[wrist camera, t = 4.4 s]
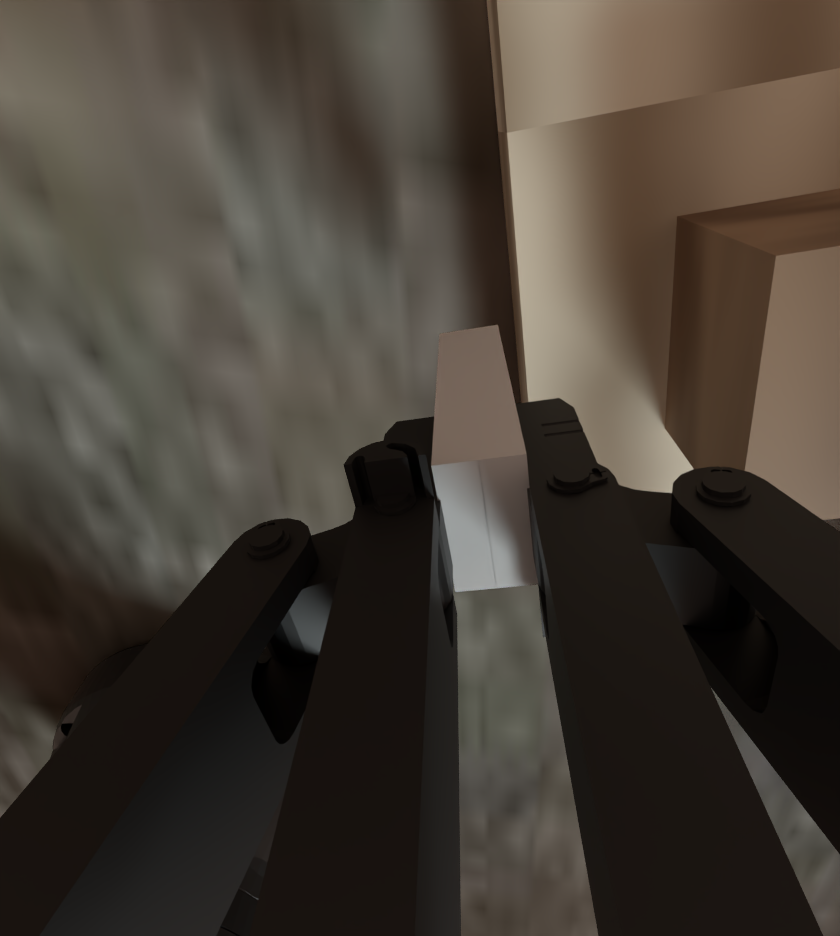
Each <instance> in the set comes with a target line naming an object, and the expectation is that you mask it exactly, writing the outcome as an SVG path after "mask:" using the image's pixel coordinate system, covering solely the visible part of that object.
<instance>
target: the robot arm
mask: <svg viewBox="0 0 840 936" xmlns="http://www.w3.org/2000/svg"><path fill="white" fill-rule="evenodd" d="M344 468H345V472H346V475H347V479H348V482H349V486H350V489H351V493H352V496H353V500H354V503H355V507H356V508H355V512H354V516H353V520H351V521H349V522H347V523H346V524H344V525H341V526H339V527H336V528H334V529H331V530H328V531H324V532H321V533H318V534H315V535H312V536H311V534H310V531H309V528H308V526H307V525H305V524H304V523H303V522H301V521H299V520H294V519H289V518H287V519H276V520H271V521H267V522H264V523H261V524H258V525H257V526H255V527H253V528H252V529H250V530H248V531H246V532H245V533H243V534H242V535H241V536H240V537H239V538H238V539H237V540H236V541H234V543H233V544H232V545H231V546H230V547H229V548H228V550H227V551H226V552H225V553H224V554H223V555H222V557H221V558H220V559H219V560H218V561H217V563H216V564H215V565H214V566H213V567H212V568H211V570H210V571H209V572H208V573H207V574H206V576H205V577H204V578H203V579H202V580H201V581H200V583H199V584H198V585H197V586H196V587H195V589H194V590H193V591H192V592H191V593H190V594H189V596H188V597H187V598H186V599H185V600H184V602H183V603H182V604H181V605H180V606H179V607H178V609H177V610H176V611H175V612H174V613H173V615H172V616H171V617H170V618H169V619H168V620H167V622H166V623H165V624H164V625H163V626H162V628H161V629H160V630H159V631H158V632H157V633H156V635H155V636H154V637H153V638H152V639H151V640H150V642H149V643H148V644H145V645H141V646H137V647H133V648H130V649H127V650H124V651H121V652H119V653H117V654H115V655H113V656H111V657H109V658H107V659H106V660H104V661H102V662H101V663H100V664H99V665H97V666H96V667H95V668H94V669H93V670H92V671H91V672H90V673H89V675H88V676H87V677H86V679H85V680H84V682H83V683H82V685H81V686H80V688H79V689H78V691H77V692H76V694H75V695H74V697H73V698H72V700H71V701H70V703H69V705H68V706H67V708H66V709H65V711H64V713H63V714H62V717H61V719H60V721H59V723H58V726H57V729H56V733H55V736H54V740H53V752H52V755H51V758H50V760H49V761H48V762H47V763H46V764H45V766H44V767H43V768H42V769H41V770H40V772H39V773H38V774H37V775H36V776H35V777H34V779H33V780H32V781H31V782H30V783H29V785H28V786H27V787H26V788H25V789H24V790H23V792H22V793H21V794H20V795H19V796H18V797H17V799H16V800H15V801H14V802H13V803H12V805H11V806H10V807H9V808H8V809H7V810H6V812H5V813H4V814H3V815H2V816H1V818H0V936H461V909H460V826H459V743H458V661H457V611H456V606H455V601H454V596H453V582H454V587H455V592H461V591H472V590H483V589H493V588H504V587H515V586H525V585H536V584H538V586H539V597H540V609H541V620H542V631H543V637H546V641H547V647H548V652H549V658H550V664H551V669H552V675H553V681H554V686H555V692H556V698H557V703H558V709H559V715H560V720H561V726H562V732H563V737H564V743H565V748H566V754H567V760H568V765H569V771H570V777H571V782H572V788H573V794H574V799H575V805H576V811H577V816H578V822H579V828H580V833H581V839H582V845H583V850H584V856H585V862H586V867H587V873H588V878H589V884H590V890H591V895H592V901H593V907H594V912H595V918H596V924H597V929H598V935H599V936H823V934H822V932H821V930H820V928H819V925H818V923H817V921H816V919H815V917H814V914H813V912H812V910H811V908H810V906H809V903H808V901H807V899H806V897H805V895H804V892H803V890H802V888H801V886H800V884H799V881H798V879H797V877H796V875H795V872H794V870H793V868H792V866H791V864H790V861H789V859H788V857H787V855H786V853H785V850H784V848H783V846H782V844H781V842H780V839H779V837H778V835H777V833H776V831H775V828H774V826H773V824H772V822H771V820H770V817H769V815H768V813H767V811H766V808H765V806H764V804H763V802H762V800H761V797H760V795H759V793H758V791H757V789H756V786H755V784H754V782H753V780H752V778H751V775H750V773H749V771H748V769H747V767H746V764H745V762H744V760H743V758H742V756H741V753H740V751H739V749H738V747H737V744H736V742H735V740H734V738H733V736H732V733H731V731H730V729H729V727H728V725H727V722H726V720H725V718H724V716H723V714H722V711H721V709H720V707H719V705H718V703H717V700H716V698H715V696H714V694H713V692H712V689H713V690H714V692H715V693H716V694H717V696H718V697H719V698H720V699H721V701H722V702H723V703H724V705H725V706H726V707H727V709H728V710H729V711H730V712H731V714H732V715H733V716H734V718H735V719H736V720H737V721H738V723H739V724H740V725H741V727H742V728H743V729H744V731H745V732H746V733H747V734H748V736H749V737H750V738H751V740H752V741H753V742H754V744H755V745H756V746H757V747H758V749H759V750H760V751H761V753H762V754H763V755H764V757H765V758H766V759H767V760H768V762H769V763H770V764H771V766H772V767H773V768H774V769H775V771H776V772H777V773H778V775H779V776H780V777H781V779H782V780H783V781H784V782H785V784H786V785H787V786H788V788H789V789H790V790H791V792H792V793H793V794H794V795H795V797H796V798H797V799H798V801H799V802H800V803H801V804H802V806H803V807H804V808H805V810H806V811H807V812H808V814H809V815H810V816H811V817H812V819H813V820H814V821H815V823H816V824H817V825H818V827H819V828H820V829H821V830H822V832H823V833H824V834H825V836H826V837H827V838H828V840H829V841H830V842H831V843H832V845H833V846H834V847H835V849H836V850H837V851H838V852H839V854H840V532H839V531H838V530H836V529H835V528H833V527H832V526H830V525H829V524H828V523H826V522H825V521H823V520H822V519H820V518H819V517H818V516H816V515H815V514H813V513H812V512H810V511H809V510H808V509H806V508H805V507H803V506H802V505H800V504H799V503H798V502H796V501H795V500H793V499H792V498H790V497H789V496H788V495H786V494H785V493H783V492H782V491H780V490H779V489H778V488H776V487H775V486H773V485H772V484H770V483H769V482H768V481H766V480H765V479H763V478H761V477H759V476H757V475H755V474H753V473H751V472H747V471H743V470H739V469H735V468H731V467H720V466H717V467H705V468H698V469H693V470H691V471H688V472H686V473H683V474H681V475H680V476H679V477H678V478H677V479H676V480H675V481H674V482H673V488H672V493H665V492H652V491H643V490H636V489H631V488H628V487H624V486H621V485H619V484H618V482H617V480H616V477H615V476H614V475H613V473H612V472H611V471H610V470H609V469H608V468H606V467H604V466H602V465H600V464H598V463H597V461H596V458H595V456H594V454H593V451H592V449H591V447H590V444H589V442H588V440H587V437H586V435H585V433H584V432H583V428H582V425H581V423H580V422H579V418H578V416H577V414H576V411H575V409H574V407H573V406H571V405H570V404H568V403H566V402H565V401H563V400H562V399H560V398H555V399H547V400H540V401H533V402H525V403H518V404H515V400H514V395H513V391H512V386H511V382H510V377H509V373H508V368H507V364H506V359H505V355H504V350H503V346H502V341H501V337H500V332H499V328H498V325H492V326H486V327H479V328H473V329H467V330H460V331H454V332H447V333H441V334H439V350H438V366H437V382H436V397H435V413H434V417H428V418H421V419H413V420H406V421H398V422H396V423H395V424H394V425H393V426H392V427H391V428H390V429H389V430H388V431H387V433H386V434H385V437H384V441H380V442H376V443H372V444H370V445H368V446H365V447H363V448H361V449H359V450H357V451H356V452H355V453H353V454H352V455H351V456H349V458H348V459H347V461H346V462H345V464H344ZM265 647H266V648H265ZM264 649H265V650H264ZM263 650H264V651H263ZM262 652H263V653H262ZM710 686H711V687H710ZM711 688H712V689H711Z"/></svg>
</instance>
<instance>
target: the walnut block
mask: <svg viewBox="0 0 840 936" xmlns="http://www.w3.org/2000/svg"><path fill="white" fill-rule="evenodd" d="M665 429H666V431H667V432H668V433H669V435H670V436H671V438H672V439H673V440H674V442H675V443H676V445H677V446H678V447H679V449H680V450H681V452H682V453H683V455H684V456H685V457H686V459H687V460H688V462H689V463H690V464H691V466H692V467H693V469H698V468H705V467H717V466H720V467H731V468H735V469H739V470H743V471H747V472H751V473H753V474H755V475H757V476H759V477H761V478H763V479H765V480H766V481H768V482H769V483H770V484H772V485H773V486H775V487H776V488H778V489H779V490H780V491H782V492H783V493H785V494H786V495H788V496H789V497H790V498H792V499H793V500H795V501H796V502H798V503H799V504H800V505H802V506H803V507H805V508H806V509H808V510H809V511H810V512H812V513H813V514H815V515H816V516H818V517H819V518H820V519H822V520H827V519H837V518H840V189H834V190H829V191H823V192H817V193H811V194H805V195H799V196H793V197H787V198H782V199H776V200H770V201H764V202H758V203H752V204H746V205H740V206H735V207H729V208H723V209H717V210H711V211H705V212H699V213H693V214H688V215H682V216H677V225H676V243H675V260H674V277H673V294H672V312H671V329H670V346H669V363H668V380H667V398H666V415H665Z"/></svg>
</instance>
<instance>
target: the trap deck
mask: <svg viewBox="0 0 840 936" xmlns="http://www.w3.org/2000/svg"><path fill="white" fill-rule="evenodd" d="M487 11H488V23H489V35H490V46H491V58H492V69H493V81H494V93H495V104H496V116H497V128H498V139H499V151H500V162H501V174H502V186H503V197H504V209H505V221H506V232H507V244H508V255H509V267H510V279H511V290H512V302H513V314H514V325H515V337H516V348H517V360H518V372H519V383H520V395H521V403H525V402H533V401H540V400H547V399H555V398H560V399H562V400H563V401H565V402H566V403H568V404H570V405H571V406H573V407H574V409H575V411H576V414H577V416H578V418H579V422H580V423H581V425H582V428H583V432H584V433H585V435H586V437H587V440H588V442H589V444H590V447H591V449H592V451H593V454H594V456H595V458H596V461H597V463H598V464H600V465H602V466H604V467H606V468H608V469H609V470H610V471H611V472H612V473H613V475H614V476H615V477H616V480H617V482H618V484H619V485H621V486H624V487H628V488H631V489H636V490H643V491H652V492H665V493H672V488H673V482H674V481H675V480H676V479H677V478H678V477H679V476H680V475H681V474H683V473H686V472H688V471H691V470H693V467H692V466H691V464H690V463H689V462H688V460H687V459H686V457H685V456H684V455H683V453H682V452H681V450H680V449H679V447H678V446H677V445H676V443H675V442H674V440H673V439H672V438H671V436H670V435H669V433H668V432H667V431H666V429H665V415H666V398H667V380H668V363H669V346H670V329H671V312H672V294H673V277H674V260H675V243H676V225H677V216H682V215H688V214H693V213H699V212H705V211H711V210H717V209H723V208H729V207H735V206H740V205H746V204H752V203H758V202H764V201H770V200H776V199H782V198H787V197H793V196H799V195H805V194H811V193H817V192H823V191H829V190H834V189H840V0H487Z"/></svg>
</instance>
